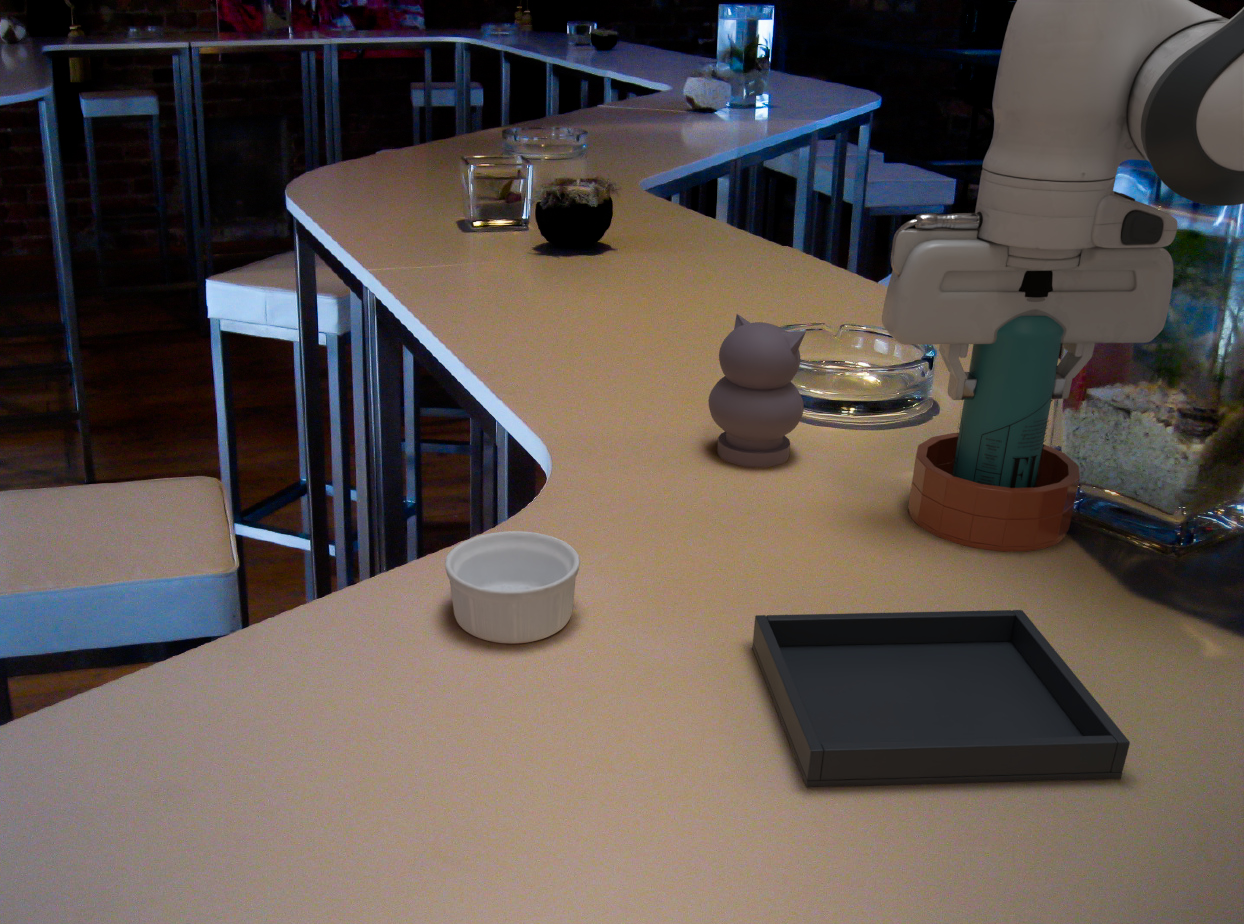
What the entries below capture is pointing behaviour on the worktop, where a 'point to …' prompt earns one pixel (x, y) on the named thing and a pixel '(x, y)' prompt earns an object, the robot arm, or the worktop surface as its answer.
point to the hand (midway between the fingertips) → (1007, 397)
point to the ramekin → (512, 585)
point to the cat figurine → (757, 394)
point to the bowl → (992, 501)
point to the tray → (931, 700)
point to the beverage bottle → (1010, 398)
